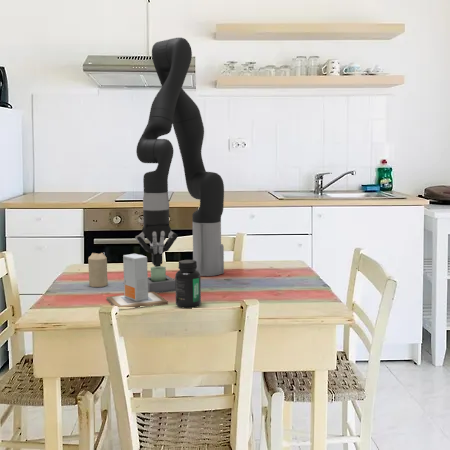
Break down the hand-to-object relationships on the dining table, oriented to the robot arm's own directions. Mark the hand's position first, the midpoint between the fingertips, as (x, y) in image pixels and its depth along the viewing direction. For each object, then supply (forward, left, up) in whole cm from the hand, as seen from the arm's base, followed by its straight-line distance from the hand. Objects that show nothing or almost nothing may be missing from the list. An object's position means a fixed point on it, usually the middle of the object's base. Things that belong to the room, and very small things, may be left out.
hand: (157, 265), depth 198 cm
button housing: (0, 0, -7) cm, 7 cm away
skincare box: (+10, +11, -6) cm, 16 cm away
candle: (+15, -13, -7) cm, 21 cm away
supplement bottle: (-2, +20, -7) cm, 22 cm away
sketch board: (+10, +11, -7) cm, 16 cm away
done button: (0, 0, -5) cm, 5 cm away
